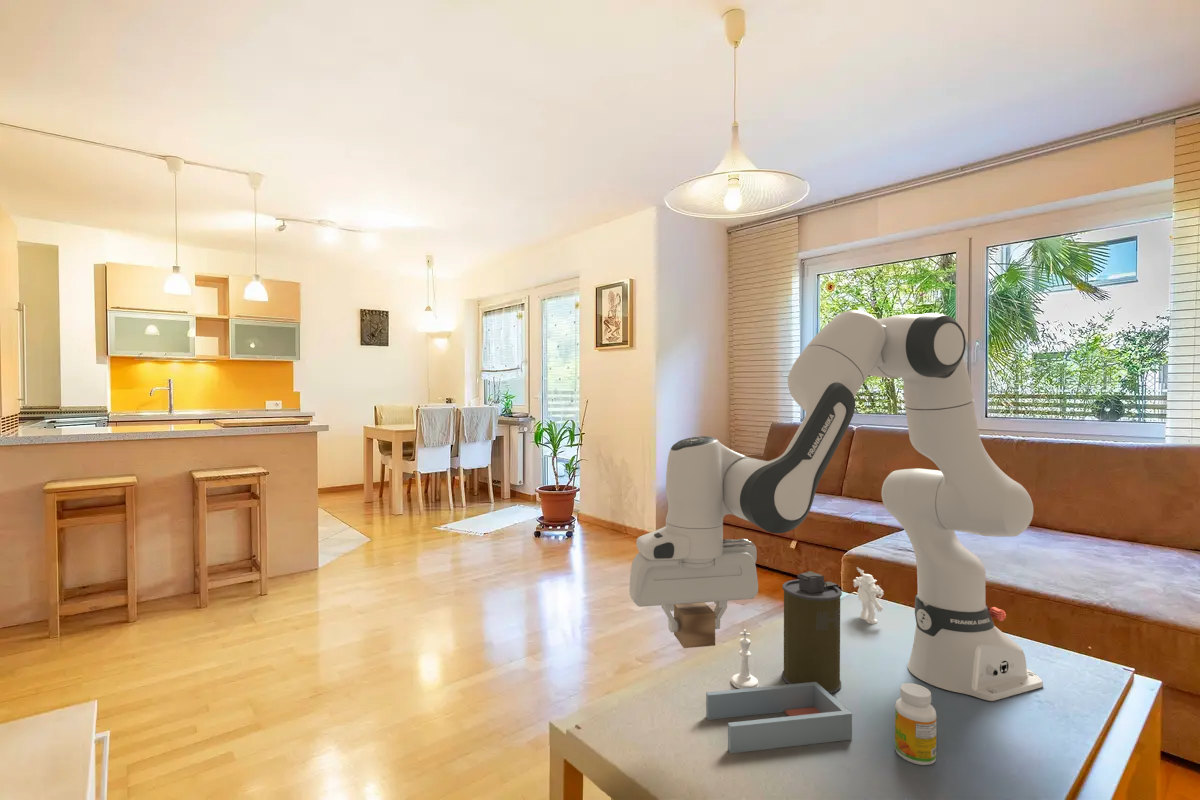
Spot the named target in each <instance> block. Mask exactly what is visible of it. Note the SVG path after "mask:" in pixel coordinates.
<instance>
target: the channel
mask: <svg viewBox="0 0 1200 800" xmlns="http://www.w3.org/2000/svg"><path fill="white" fill-rule="evenodd" d="M705 694H706V695H705V697H706V698H705V700H706V701H705V702H706V703H705V706H706V707H705V710H706V711H705V712H706V713H705V716H706V718H707V720H709V721H710V720H715V719H717V720H719V719H726V718H727V719H728V718H737V717H745V716H746V717H747V716H755V715H765V714H766V715H767V714H775V713H784V714H786V715H787V716H781V717H772V718H762V719H753V720H743V721H742V720H741V721H732V722H727V750H728V752H729V753H730V754H737V753H747V752H755V751H762V750H772V749H780V748H781V749H782V748H788V747H789V748H790V747H798V746H806V745H814V744H815V745H816V744H823V743H824V744H825V743H833V742H839V741H840V742H841V741H848V740H849V741H850V740H853V713H852V712H851V711H850V710H849V709H847V708H846V707H845V706H844V705H843V704H842V703H841V702H840V701H838V700H837V699H836V698H835V697H834V696H833V695H832V694H829V693H828V692H827V691H826V690H825V689H824V688H823V687H822V686H820V685H819V684H818V683H817V682H809V683H799V684H777V685H771V686H769V685H768V686H758V687H756V688H746V689H738V688H735V689H728V690H725V689H724V690H717V691H716V690H715V691H706V692H705Z"/></svg>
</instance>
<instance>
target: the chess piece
mask: <svg viewBox="0 0 1200 800" xmlns="http://www.w3.org/2000/svg"><path fill="white" fill-rule="evenodd" d="M739 634H740V636H741V637H743V638H739V644H740V647H741V650H739V652H738V654H739V655H740V656H741V664H740V672H738V673H736V674H733V676H732V677H731V681H730V683H731V685H732V686H733V687H734V688H735V689H746V688H756V687H760V686H759V685H760V684H759V680H758V679H757V677H755V676H754V675H752V674H751V672H750V668H749V657H751V655H752V653H751V651H750V650H749V648H750V646H751V640H750V639H749V638H747V637H751V633H750V632H747V629H743V632H741V631H740V633H739Z"/></svg>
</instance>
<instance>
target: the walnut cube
mask: <svg viewBox="0 0 1200 800" xmlns="http://www.w3.org/2000/svg"><path fill="white" fill-rule="evenodd" d="M673 617H678V619H679V620H680V621H681V626H680V628H681V631H680V632H673V635H674V636H675V638H676V639H677V641H678V642H679V643H680V645H681V646H682V647H683V649H691V648H692V649H693V648H701V647H702V648H703V647H714V646H716V629H715V612H714V609H712V608H711V607H710V606H709V605H708V604H707V602H702V603H688V604H674V611H673Z"/></svg>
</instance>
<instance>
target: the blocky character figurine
mask: <svg viewBox="0 0 1200 800" xmlns="http://www.w3.org/2000/svg"><path fill="white" fill-rule="evenodd" d="M856 571H857V572H858V573H860V575H861V576H859V577H858V576H856V577H855V579H853V580H852V582H853V587H854V588H857V587H858V589H857V594H858V595H857V597H858V601H861V603H862V606H861V607H862V610H861V612H860V616H859V619H861V620H863V621H866V623H868V624H873V625H875V624H878V621H879V620H878V619H876V618H875V617H876V610H877V612H882V611H883V606H882V605H881V604H880V603H879V601H878V599H877V597H878V598H879V599H881V598H882V597H883V596H884V595H885V593H884V590H883V589H882V588H881V587H880V585H878V584H876V582H877V581H878V580H877V579H874V577H873V575H872V574H869V573H864V572H865V570H863V569H861V568H859V566H857V567H856ZM875 609H876V610H875Z"/></svg>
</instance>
